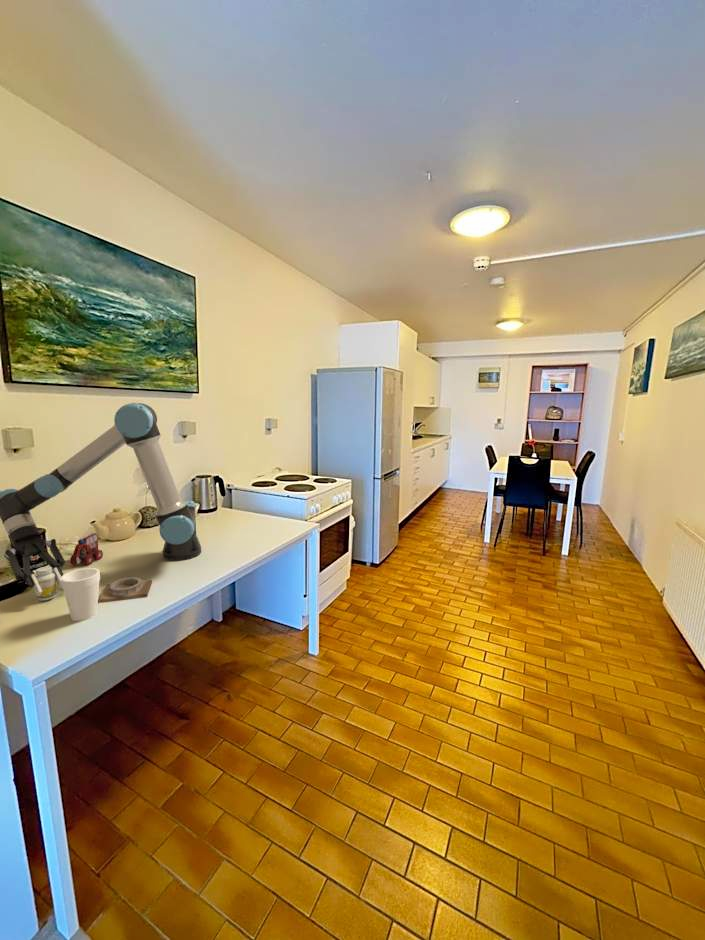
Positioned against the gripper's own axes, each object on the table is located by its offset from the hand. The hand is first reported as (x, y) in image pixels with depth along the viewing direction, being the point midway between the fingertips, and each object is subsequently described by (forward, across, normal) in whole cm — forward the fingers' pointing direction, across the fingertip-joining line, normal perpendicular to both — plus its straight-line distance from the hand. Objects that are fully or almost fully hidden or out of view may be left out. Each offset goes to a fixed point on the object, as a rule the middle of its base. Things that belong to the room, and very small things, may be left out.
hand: (51, 590), depth 122 cm
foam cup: (+15, -1, +9) cm, 17 cm away
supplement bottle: (0, 0, -5) cm, 5 cm away
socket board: (+12, -16, +6) cm, 21 cm away
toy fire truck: (-14, -22, -20) cm, 33 cm away
